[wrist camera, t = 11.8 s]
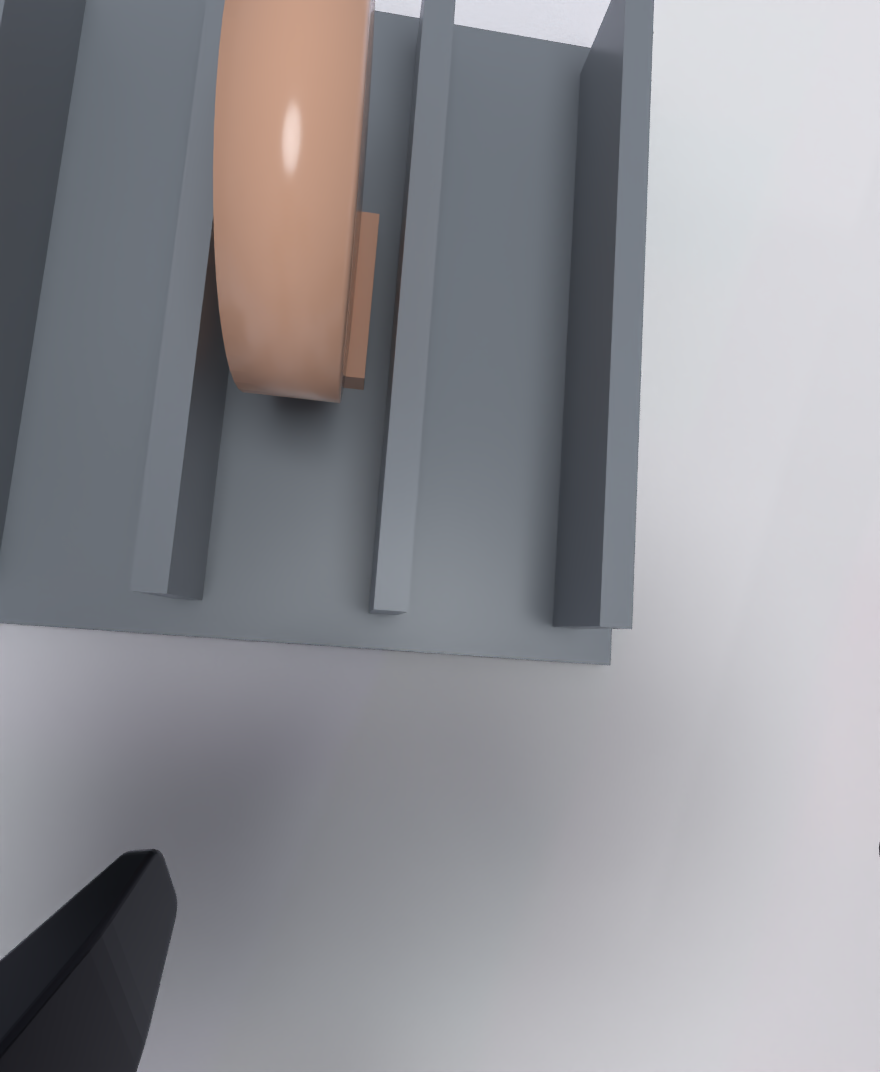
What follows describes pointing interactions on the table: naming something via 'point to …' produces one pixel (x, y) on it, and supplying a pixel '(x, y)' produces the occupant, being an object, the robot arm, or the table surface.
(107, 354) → the dish rack
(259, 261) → the peach disc
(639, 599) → the table surface
